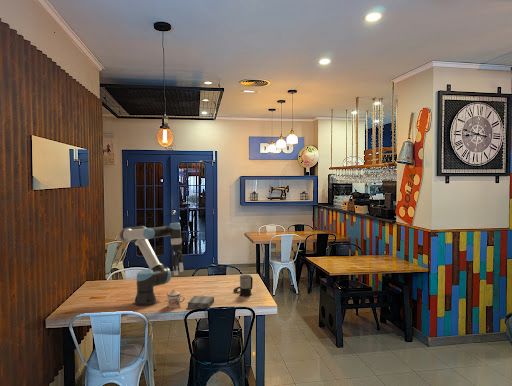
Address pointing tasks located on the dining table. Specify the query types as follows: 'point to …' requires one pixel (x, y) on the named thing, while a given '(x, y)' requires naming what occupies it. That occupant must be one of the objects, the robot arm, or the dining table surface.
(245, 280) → the milk frother
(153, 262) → the robot arm
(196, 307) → the grey stand
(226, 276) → the dining table surface
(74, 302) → the dining table surface
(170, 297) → the teacup with lid
